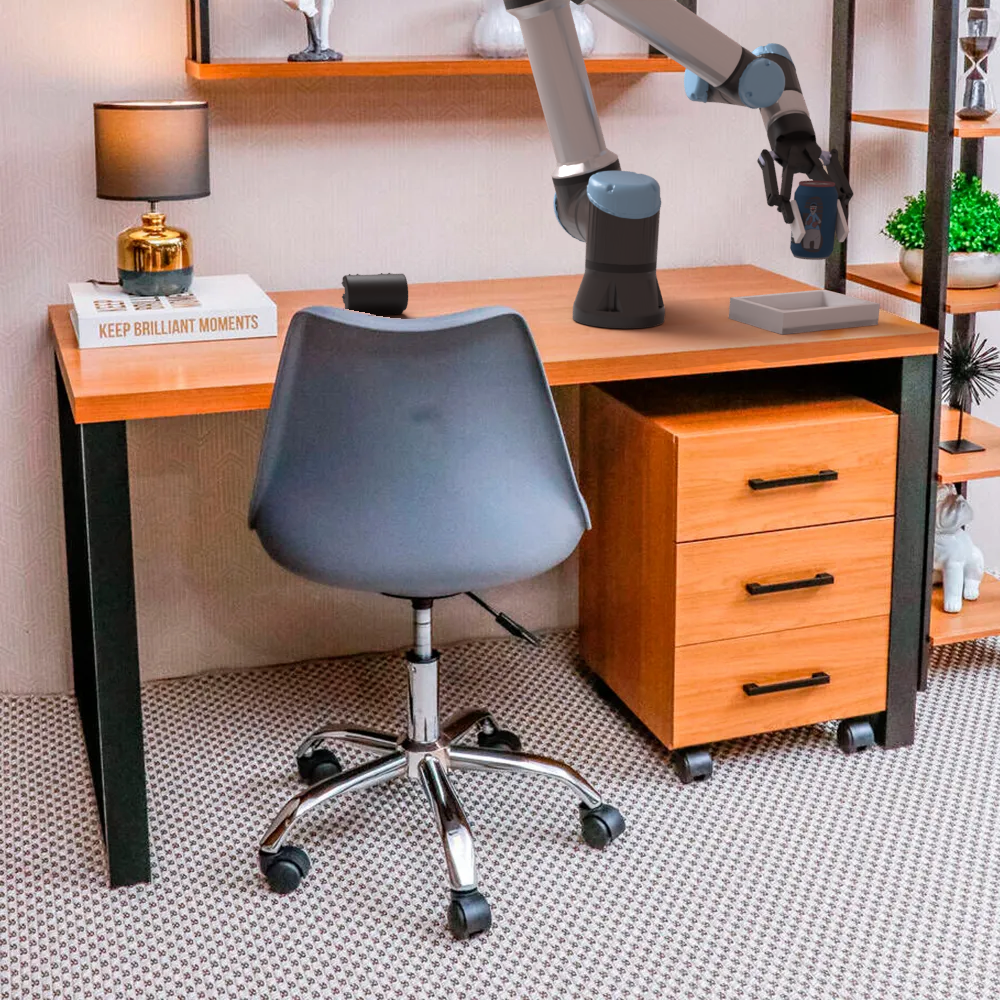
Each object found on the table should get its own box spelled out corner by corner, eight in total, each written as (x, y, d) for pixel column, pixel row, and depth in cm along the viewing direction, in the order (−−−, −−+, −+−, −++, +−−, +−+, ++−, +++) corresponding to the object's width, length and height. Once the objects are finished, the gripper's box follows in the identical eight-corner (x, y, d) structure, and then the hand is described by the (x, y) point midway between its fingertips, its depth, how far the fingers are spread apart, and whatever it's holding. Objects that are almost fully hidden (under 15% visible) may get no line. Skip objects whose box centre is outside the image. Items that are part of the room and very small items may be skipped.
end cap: (348, 320, 232) (348, 278, 230) (340, 312, 238) (339, 271, 236) (408, 317, 235) (408, 276, 233) (398, 309, 241) (398, 269, 239)
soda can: (819, 252, 238) (825, 179, 235) (840, 259, 232) (847, 184, 228) (781, 254, 237) (787, 180, 233) (802, 261, 230) (808, 185, 226)
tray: (781, 334, 227) (783, 312, 226) (728, 318, 239) (730, 297, 238) (877, 324, 236) (880, 303, 235) (821, 309, 248) (823, 289, 247)
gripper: (834, 140, 245) (869, 250, 235) (725, 141, 241) (757, 253, 231) (851, 110, 239) (888, 221, 229) (740, 110, 234) (772, 224, 224)
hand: (822, 237), depth 230 cm, fingers closed on soda can, 7 cm apart
